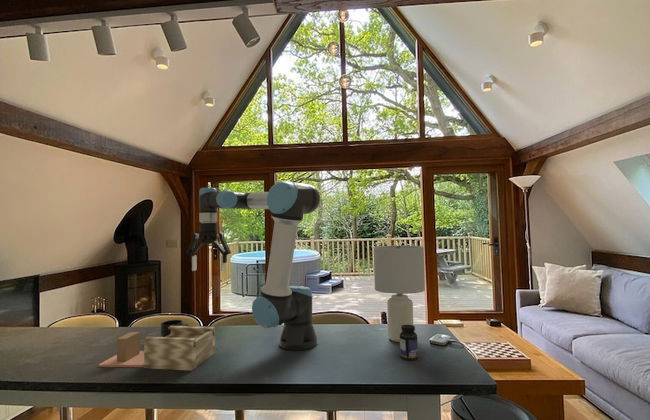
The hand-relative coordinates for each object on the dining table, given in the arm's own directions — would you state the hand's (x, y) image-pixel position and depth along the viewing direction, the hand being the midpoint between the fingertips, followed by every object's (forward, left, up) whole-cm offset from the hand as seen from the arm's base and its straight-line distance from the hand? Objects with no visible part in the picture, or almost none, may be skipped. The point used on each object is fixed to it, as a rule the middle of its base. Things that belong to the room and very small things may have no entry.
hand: (208, 270), depth 158 cm
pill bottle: (-85, +16, -29) cm, 91 cm away
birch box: (-4, +28, -29) cm, 40 cm away
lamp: (-83, -4, -29) cm, 88 cm away
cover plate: (+15, +29, -29) cm, 44 cm away
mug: (+7, +14, -29) cm, 33 cm away
